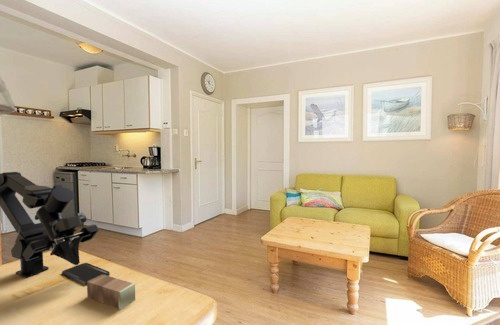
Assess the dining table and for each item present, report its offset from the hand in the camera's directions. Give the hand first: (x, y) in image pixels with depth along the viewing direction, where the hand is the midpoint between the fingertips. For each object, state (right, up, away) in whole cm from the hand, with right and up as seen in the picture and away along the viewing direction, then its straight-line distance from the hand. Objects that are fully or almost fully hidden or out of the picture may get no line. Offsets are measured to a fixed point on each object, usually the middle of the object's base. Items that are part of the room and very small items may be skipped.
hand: (77, 264), depth 75 cm
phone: (-3, -7, +8) cm, 11 cm away
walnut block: (+7, -5, -3) cm, 9 cm away
